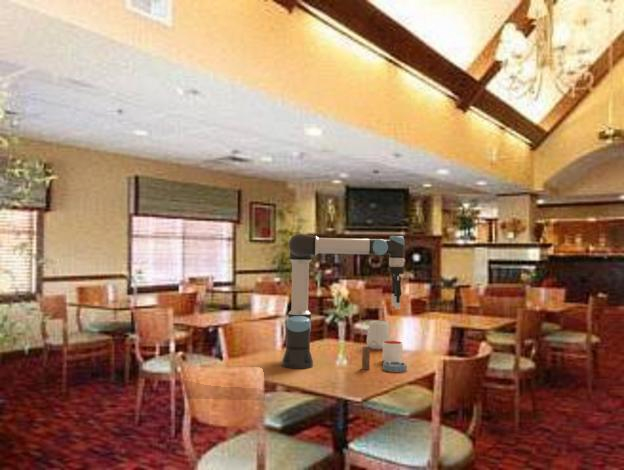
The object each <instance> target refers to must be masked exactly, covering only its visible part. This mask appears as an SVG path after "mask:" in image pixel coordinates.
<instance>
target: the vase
mask: <svg viewBox="0 0 624 470" xmlns="http://www.w3.org/2000/svg"><path fill="white" fill-rule="evenodd" d="M384 341H392V337H391V330H390V324H389V322H388V321H386V320H385V321H384V320H371V321H370V322H369V324H368V330H367V336H366V346H370V349H372V350H383V342H384Z"/></svg>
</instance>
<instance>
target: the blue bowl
mask: <svg viewBox="0 0 624 470" xmlns="http://www.w3.org/2000/svg"><path fill="white" fill-rule="evenodd" d="M407 367H408V365H407V363H405V362H402V361H401V362H390V361H389V362H384V361H383V363H382V370H383V371H385V372H390V373H405V372H407V370H408V369H407Z"/></svg>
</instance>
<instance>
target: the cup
mask: <svg viewBox="0 0 624 470" xmlns="http://www.w3.org/2000/svg"><path fill="white" fill-rule="evenodd" d="M381 359H382V362H383V363H384V362H389V361H390V362H402V361H403V342H401V341H397V340H391V341H384V342H383V349H382V357H381Z"/></svg>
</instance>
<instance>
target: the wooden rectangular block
mask: <svg viewBox="0 0 624 470" xmlns="http://www.w3.org/2000/svg"><path fill="white" fill-rule="evenodd" d="M361 348H362V349H361V351H362V352H361V353H362V354H361V362H362V363H361V369H362V370H366V371H367V370H370V363H371V362H370V361H371V360H370V357H371V356H370V353H371V348H370V346H368V345H362V347H361Z"/></svg>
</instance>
